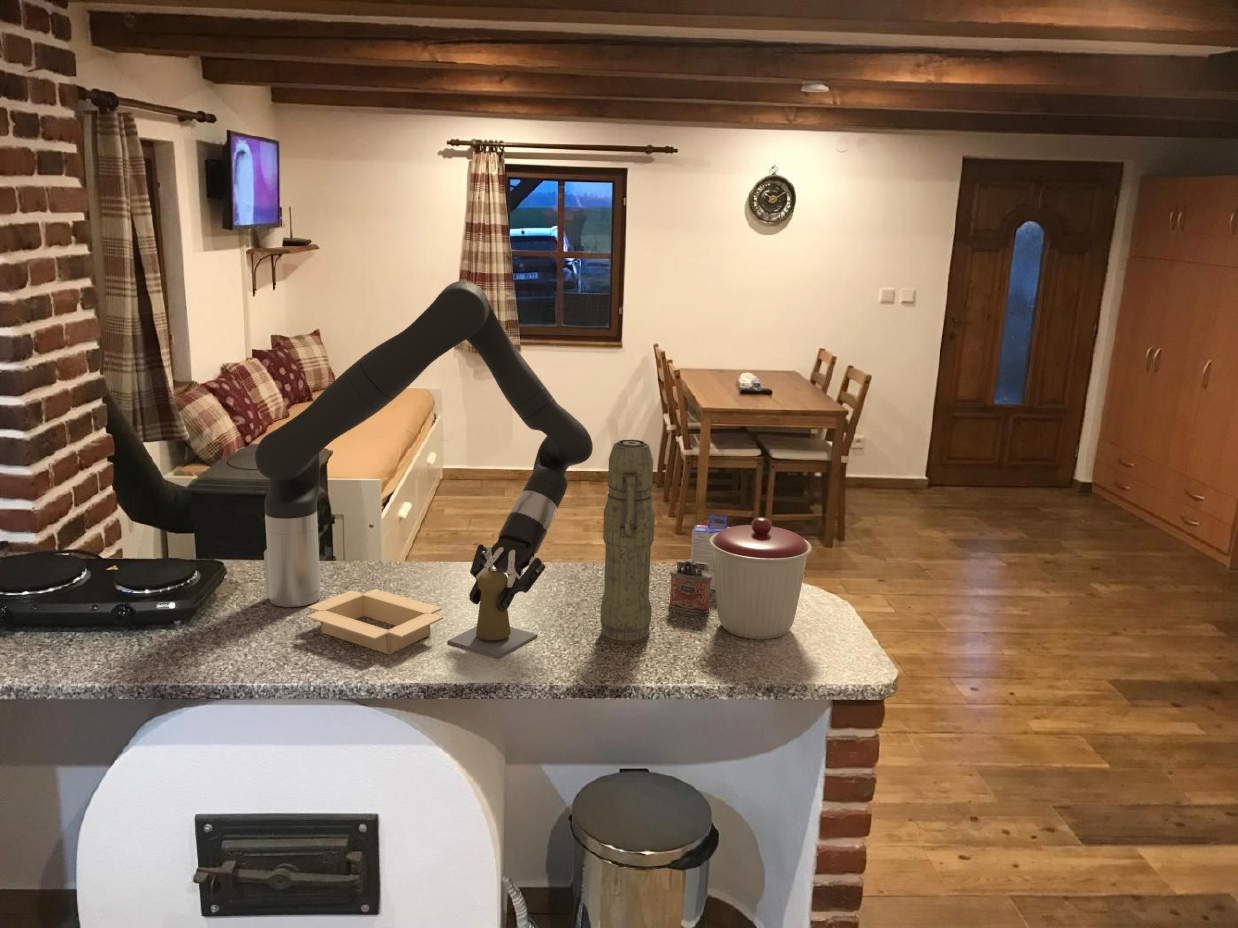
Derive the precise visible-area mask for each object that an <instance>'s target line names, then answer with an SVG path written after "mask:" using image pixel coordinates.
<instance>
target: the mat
mask: <svg viewBox="0 0 1238 928" xmlns="http://www.w3.org/2000/svg"><path fill="white" fill-rule="evenodd" d="M476 630H477V625H476V626H474V627H472V628H470V629H468V630H466V631H464V632H462V633H460V634H458V635H456V636H454V637H452V638H450V639H448V640H447V644H450V645H453V646H456V647H458V648H459V647H460V648H462V649H465V650H468V651H471V652H472V651H473V652H476V653H479V654H482V655H485V656H489V657H491V658H495V659H498V660H499V659H500V658H503V657H504V656H506V655H508V654H509V653H511V652H513V651H516V649H519V648H520V647H523V646H524V645H526V644H528V643H530V642H531V641H533V640H535V639H536V638H538V634H537V633H533V632H529V631H527V630H523V629H519V628H517V627H512V626H510V630H511V634H510V635H509V636H508V637H506V638H503V639H499V640H485V639H481V638H479V637H478V636H477V635H476Z"/></svg>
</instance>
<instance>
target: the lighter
mask: <svg viewBox="0 0 1238 928" xmlns="http://www.w3.org/2000/svg"><path fill="white" fill-rule="evenodd" d="M708 568H709V564H708V563H703V562H694V560H692V559H691V558H688V559H687V560H684V559H683V560H682V559H678V560H676V568H672V569H671V570H670V571H669V572H670V573H669V575H670V591H669V594H670V595H669V603H668V609H669V610H670V611H673V612H678V613H681V614H687V615H695V616H708V615H710V612H711V608H710V600H711V599H710V598H711V597H710V595H711V589H710V581H711V580H712V575H710V574H707V573H703V572H702V570H704V571H708ZM696 569H697V571H696Z"/></svg>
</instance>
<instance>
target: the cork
mask: <svg viewBox="0 0 1238 928" xmlns="http://www.w3.org/2000/svg"><path fill="white" fill-rule="evenodd" d="M507 580H508V575H506V573H502V572H499V571H488V572H484V573H483V574H481V575H480V577H479V579H478V588H479V590H480V591H481V598H480V602H479V609H478V614H477V615H478V616H477V623H476V626H477V630H476V635H477V636H478V637H479V638H481V639H485V640H499V639H503V638H506V637H508V636H509V635H510V634H511V630H510V627H511V626H510V625H511V624H510V618H509V617H510V615H509V611H508V609H505V611H504V612H501V611H499V610H498V609H497V608H496V603H497V601H498V599H499V597H500V595H501V593H502V591H503V589H504V588H505V587H506V588H507Z"/></svg>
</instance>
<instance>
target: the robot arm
mask: <svg viewBox="0 0 1238 928" xmlns="http://www.w3.org/2000/svg"><path fill="white" fill-rule="evenodd" d="M490 303H491V302H489V299H488V297H487V294H486V293H485V292H484V290H483V289H482V288H481V287H480V286H479V285H477V284H475V283H473V282H470V281H467V280H466V281H465V280H460V281H459V280H458V281H455V282H452V283H450V284H449V285H447V286H446V287H445V288H443V290H442V291H440V293H439V294H438V295H437V296H436V298H435V299H434V301H433V302H431V304H430V305H429V306H428V307H427V308H426V309H425V310H424V311H423V312H422V313H421V314H420V315H419V316H418V317H417V318H416V319H414V321H413V322H412V323H411V324H409V326H407V327H406V328H405V329H404V330H402V331H401V332H399V333H398V334H396V335H394V336H392V337H391V338H389V339H387V340H385V341H384V342H381V343H380V344H379V345H377V346H376V347H374V348H372V349H371V350H369V351H368V352H367V353H365V354H364V355H363V356H361V357H360V358H359V359H358V360H356V361H355V362H354V363H353V364H352V365H350V367H348V368H347V369H346V370H344V371H343V372H342V373H341V374H340V375H339V376H338V377H337V378H336V379H335V380H333V382H332V383H330V384H329V385H328V386H327V387H326V388H325V389H324V390H323V391H322V392H321V393H320V394H319V395H318V397H317V398H316V399H315V400H313V402H312V403H310V404H309V405H308V406H307V407H306V408H305V409H304V410H303V411H301V412H300V413H299V414H297V415H296V416H294V417H292V418H291V419H290V420H288V421H287V422H285V423H284V424H282V425H280V427H278V428H276V429H274V430H272V431H271V432H269V433H267V434H266V435H264V436H263V438H261V440H260V441H259V442H258V445H257V447H256V449H255V452H254V460H255V465H256V468H257V470H258V471H259V473H261V475H262V476H264V477H265V478H267V479H270V482H269V488H268V492H267V494H266V496H265V499H264V514H265V515H264V521H265V533H266V535H265V536H266V549H265V550H264V552H263V558H264V559H263V560H264V562H263V563H264V575H265V576H264V579H265V594H266V595H265V596H266V599H268V600H269V603H271V604H272V605H273V606H277V607H282V608H283V607H284V608H295V607H296V608H298V607H304V606H308V605H309V606H310V605H311V604H312V605H313V604H314V603H316V602H318V601H319V600H320V599H321V573H320V572H321V571H320V570H321V569H320V549H319V530H318V529H319V525H318V499H319V494H320V489H321V487H320V485H321V482H320V476H321V475H320V471H321V469H320V453H321V451H323V450H324V449H325V448H326V447H327V446H328V445H330V444H331V443H332V442H333V441H335V440H336V439H338V438H339V437H341V436H342V435H344V434H346V433H347V432H349V431H351V430H352V429H354V428H356V427H357V426H358V425H361V424H362V423H364V422H365V421H366V420H369V419H370V418H371V417H373V416H375V414H377V413H378V412H380V411H381V410H382V409H384V408H385V407H386V406H387V405H389V404H390V403H391V402H392V401H393V400H394V399H396V398H397V397H398V396H400V394H402V393H403V391H405V390H406V389H407V388H408V387H410V386H411V385H412V383H413V382H415V380H417V378H418V377H419V376H421V374H422V373H423V372H425V370H426V369H427V368H428V367H429V366H430V365H431V364H432V363H434V362H435V361H436V360H437V359H438V358H441V356H443V355H444V354H446V353H447V352H449V351H450V350H452V349H453V348H455V347H457V346H458V345H459V344H461V343H463V342H465V341H467V342H468V343H469V344H470V345H471V346H472V347H473V349H474V350H475V351H476V353H478V354H479V356H480V357H481V359H482V360H483V361H484V363H485V365H486V367H487V368H488V370H489V371H490V373H491V375H492V376H493V378H494V381H495V382H496V384H497V386H498V387H499V390H500V391H501V393H502V395H503V396H504V397H505V399H506V401H507V402H508V403H509V405H510V406H511V407H512V408H513V410H514V411H515V413H517V415H518V416H519V418H520V419H521V420H522V422H523V423H524V424H525V425H526V426H527V427H528V428H529V429H531V430H533V431H540V432H542V433H543V434H544V435H546V436H545V438H544V439H543V441H542V442H541V443H540V445H539V447H538V450H537V453H536V457H535V461H534V464H533V469H532V473H531V475H530V476H529V478H528V480H527V481H526V484H525V486H524V488H523V490H522V492H521V493H520V495H519V497H518V498H517V499H516V501H515V502H514V504H513V505H512V509H511V510H510V512H509V514H508V516H507V517H506V520H504V524H503V525H502V527H501V529H500V531H499V534H498V539H497V541H496V543H494V544H493V545H492V546H485V545H483V544H478V546H477V547H476V550H475V554H474V557H473V561H472V565H471V568H470V570H469V573H470V574H471V576H472V577H473V578H474V579H475V582H474V584H473V586H472V588H471V590H470V592H469V594H468V597H469V601H470V602H471V603H472V604H474V605H480V598H481V591H480V590H479V588H478V579H479V577H480V575H481V574H483V573H484V572H488V571H499V572H502V573H504V574H507V575H506V576H507V578H508V580H507V588H506V587H505V588H504V589H503V591H502V593H501V595H500V597H499V599H498V601H497V603H496V608H497V609H498V610H499V611H501V612H504V611H505V609H508V608H510V606H511V604H512V601H513V599H514V597H515V595H517V594H518V593H522V592H523V593H524V594H526V593H528V592H529V591H530V589H531V588H532V587H533V586H534V584H535V583H536V582H537V580H538V579H539V577H540V576H541V575H542V574H543V572H544V571H545V570H546V564H544V562H543V561H542V560H541V558H539V557H536V558H535V555H536V554H537V553H538V551H539V550H540V547H541V546H542V544H543V542H544V540H545V538H546V536H547V534H548V531H549V529H550V528H551V526H552V523H553V522H554V518H555V516H556V513H557V510H558V508H560V507H559V506H560V505H561V502H562V500H563V498H564V496H565V494H566V493H567V489H568V480H567V479H566V477H565V474H566V472H567V469H568V468H569V467H572V466H576V465H580V464H582V463H584V462H585V463H586V461H587V460H589V459H590V457H591V456H592V453H593V449H594V447H593V446H594V444H593V440H592V438H591V435H590V433H589V432H588V430H587V428H586V427H585V426H584V425H583V424H582V423H581V422H580V421H579V420H578V419H577V418H576V417H574V415H572V414H571V413H570V412H569V411H567V410H566V409H565V408H564V407H562V406H561V405H560V404H558V402H557V401H556V400H555V398H554V397H553V395H552V394H551V392H550V391H549V390H548V389H547V387H546V385H544V383H543V382H542V381H541V379H540V378H539V377H538V375H537V374H536V373H535V371H534V370H533V369H532V368H531V366H530V365H529V364H528V362H527V361H526V360H525V359H524V357H523V356H522V355H521V354H520V352H519V351H518V349H517V348H516V347H515V345H514V343H513V342H512V340H511V339H510V337H509V336H508V334H507V333H506V331H505V330H504V328H503V326H502V324H501V322H500V321H499V318H498V317H497V314H496V313H495V311H494V309H493V308H492V305H491V304H490ZM493 567H494V568H493ZM525 569H526V570H525ZM524 570H525V571H524Z"/></svg>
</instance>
